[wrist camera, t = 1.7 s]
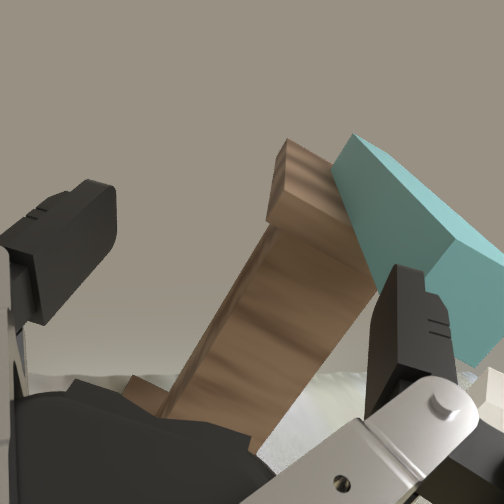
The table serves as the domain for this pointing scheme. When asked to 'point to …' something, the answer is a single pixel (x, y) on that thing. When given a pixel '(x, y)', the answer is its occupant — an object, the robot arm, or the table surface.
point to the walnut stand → (274, 310)
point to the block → (489, 397)
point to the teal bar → (423, 244)
